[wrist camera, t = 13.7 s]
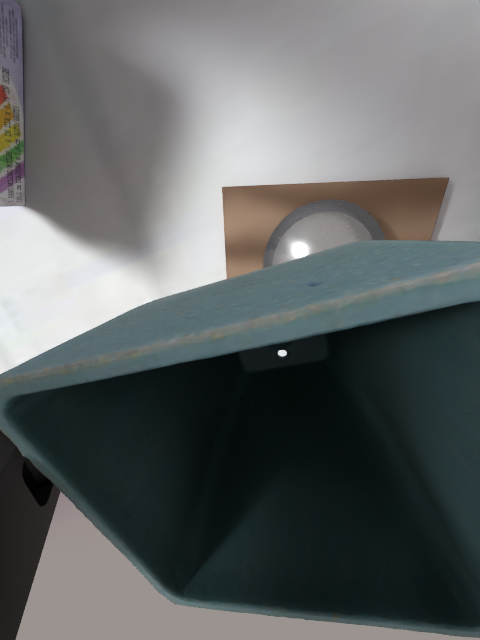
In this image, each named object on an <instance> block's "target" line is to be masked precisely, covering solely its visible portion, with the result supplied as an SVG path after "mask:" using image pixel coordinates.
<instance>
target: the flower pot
mask: <svg viewBox="0 0 480 640" xmlns="http://www.w3.org/2000/svg"><path fill="white" fill-rule="evenodd" d="M279 350H285V351H287V355H286V356H284V357H281V356H279V355H278V351H279ZM0 430H1V431H2V432H3V433H4V434H5V435H6V436H7V437H8V438H10V440H11V441H12V442H13V443H14V444H15V445H16V446H17V447H18V449H19V451H20V452H21V454H22V456H24V457H26V458H28V459H29V460H30V461H31V462H32V464H33V465H34V466H35V467H36V468H37V469H38V470H39V471H40V472H41V473H42V474H43V475H44V476H46V477H47V478H48V479H49V480H51V482H52V483H53V484H54V485H55V486H56V487H57V488H58V489H59V490H60V491H61V492H62V493H63V494H65V496H66V497H68V498H69V499H70V501H71V502H72V503H73V504H74V505H75V506H76V508H77V509H78V510H80V511H81V512H82V513H83V514H84V515H85V517H86V518H88V519H89V520H90V521H91V522H92V523H93V525H94V526H95V527H96V528H97V529H98V530H99V531H100V532H101V533H102V534H103V535H104V536H105V537H106V538H107V539H108V540H109V541H111V543H112V544H113V545H114V546H115V547H116V548H117V549H118V550H119V551H120V552H121V553H122V554H123V555H124V556H125V557H126V558H127V559H128V560H129V561H130V562H131V563H132V564H133V565H134V566H135V567H136V568H137V569H138V570H139V572H140V573H141V574H142V575H143V576H144V577H145V578H146V579H147V580H148V581H149V582H150V584H151V585H153V587H154V588H155V589H156V590H157V591H158V592H159V593H160V594H162V595H163V596H165V597H166V598H167V599H168V600H170V601H171V602H173V603H174V604H179V605H184V606H191V607H198V608H206V609H214V610H223V611H231V612H240V613H252V614H262V615H268V616H277V617H288V618H300V619H305V620H316V621H327V622H338V623H347V624H356V625H367V626H377V627H386V628H393V629H403V630H411V631H419V632H430V633H438V634H445V635H451V636H462V637H478V638H480V242H468V241H416V240H367V241H359V242H352V243H347V244H344V245H340V246H337V247H333V248H330V249H327V250H324V251H320V252H317V253H314V254H311V255H307V256H304V257H301V258H297V259H294V260H291V261H287V262H284V263H280V264H277V265H274V266H270V267H267V268H263V269H260V270H257V271H253V272H250V273H247V274H243V275H240V276H236V277H233V278H229V279H226V280H222V281H219V282H216V283H212V284H209V285H205V286H202V287H198V288H195V289H192V290H188V291H185V292H181V293H178V294H174V295H171V296H167V297H164V298H161V299H157V300H154V301H152V302H149V303H146V304H144V305H141V306H139V307H137V308H134V309H132V310H130V311H128V312H126V313H124V314H122V315H120V316H118V317H116V318H114V319H112V320H110V321H108V322H106V323H104V324H102V325H100V326H98V327H95V328H93V329H91V330H89V331H87V332H85V333H83V334H81V335H79V336H77V337H75V338H73V339H71V340H69V341H67V342H65V343H62V344H60V345H58V346H56V347H54V348H52V349H50V350H48V351H46V352H44V353H42V354H40V355H38V356H36V357H34V358H32V359H30V360H28V361H26V362H24V363H22V364H21V365H19V366H17V367H15V368H13V369H10V370H8V371H6V372H4V373H2V374H0Z"/></svg>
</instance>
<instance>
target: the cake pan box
mask: <svg viewBox="0 0 480 640" xmlns="http://www.w3.org/2000/svg"><path fill="white" fill-rule="evenodd" d="M24 205H25V177H24V112H23V50H22V10H21V7H20V5H19V4H18V3H17V2H15V1H14V0H0V206H24Z"/></svg>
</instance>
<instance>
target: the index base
mask: <svg viewBox="0 0 480 640" xmlns="http://www.w3.org/2000/svg"><path fill="white" fill-rule="evenodd" d="M448 180H449V178H426V179H402V180H378V181H354V182H330V183H307V184H283V185H259V186H235V187H222V193H223V212H224V232H225V251H226V271H227V279H229V278H233V277H236V276H240V275H243V274H247V273H250V272H253V271H257V270H260V269H263V259H264V253H265V249H266V246H267V243H268V241H269V238H270V236H271V234H272V233H273V231H274V229H275V228H276V226H277V225H278V224H279V223H280V222H281V220H282V219H283V218H284V217H285V216H287V215H288V214H289V213H291V212H292V211H293V210H295V209H297V208H298V207H300V206H303V205H305V204H308V203H311V202H314V201H320V200H342V201H347V202H350V203H353V204H356V205H358V206H360V207H362V208H363V209H365V210H366V211H367V212H369V213H370V214H371V215H372V216H373V217H374V218H375V220H376V221H377V222H378V224H379V226H380V227H381V229H382V231H383V234H384V237H385V240H416V241H430V239H431V236H432V233H433V230H434V226H435V223H436V220H437V216H438V213H439V210H440V207H441V203H442V200H443V197H444V194H445V190H446V187H447V184H448Z"/></svg>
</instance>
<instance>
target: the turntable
mask: <svg viewBox="0 0 480 640" xmlns="http://www.w3.org/2000/svg"><path fill="white" fill-rule="evenodd" d="M367 240H385V237H384V234H383V231H382V229H381V227H380V226H379V224H378V222H377V221H376V220H375V218H374V217H373V216H372V215H371V214H370V213H369V212H367V211H366V210H365V209H363V208H362V207H360V206H358V205H356V204H353V203H350V202H347V201H342V200H320V201H314V202H311V203H308V204H305V205H303V206H300V207H298V208H297V209H295V210H293V211H292V212H291V213H289V214H288V215H287V216H285V217H284V218H283V219H282V220H281V222H280V223H279V224H278V225H277V226H276V228H275V229H274V231H273V233H272V234H271V236H270V238H269V241H268V243H267V246H266V249H265V253H264V259H263V268H267V267H270V266H274V265H277V264H280V263H284V262H287V261H291V260H294V259H297V258H301V257H304V256H307V255H311V254H314V253H317V252H320V251H324V250H327V249H330V248H333V247H337V246H340V245H344V244H347V243H352V242H359V241H367Z"/></svg>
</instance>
